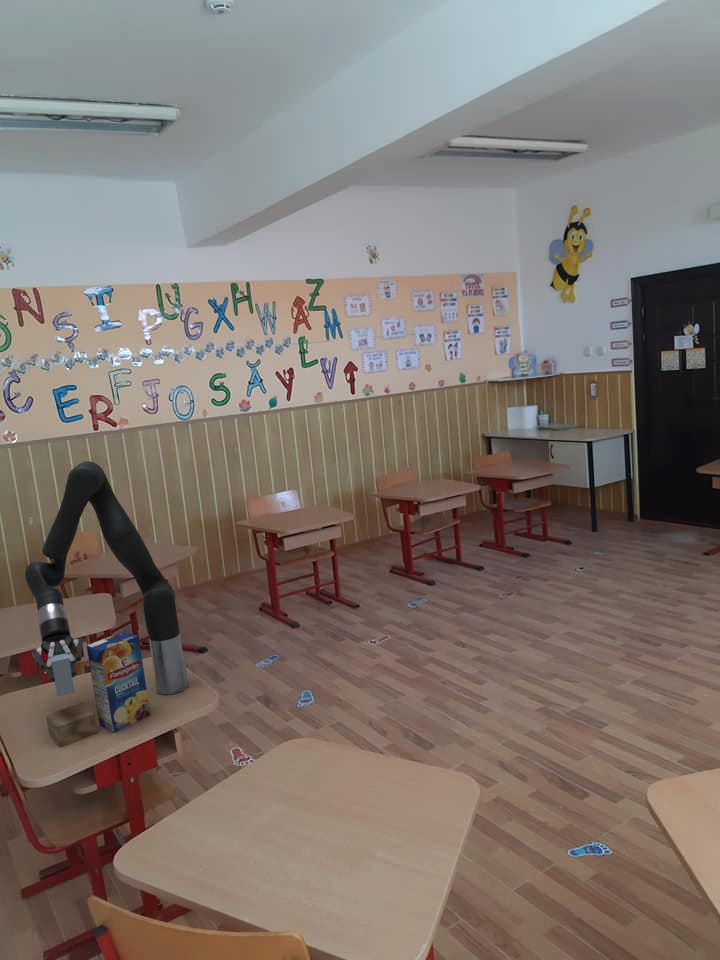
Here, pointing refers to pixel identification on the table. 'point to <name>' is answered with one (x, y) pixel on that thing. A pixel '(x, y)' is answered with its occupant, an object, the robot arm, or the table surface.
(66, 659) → the slate column
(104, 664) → the juice carton
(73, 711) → the walnut block
